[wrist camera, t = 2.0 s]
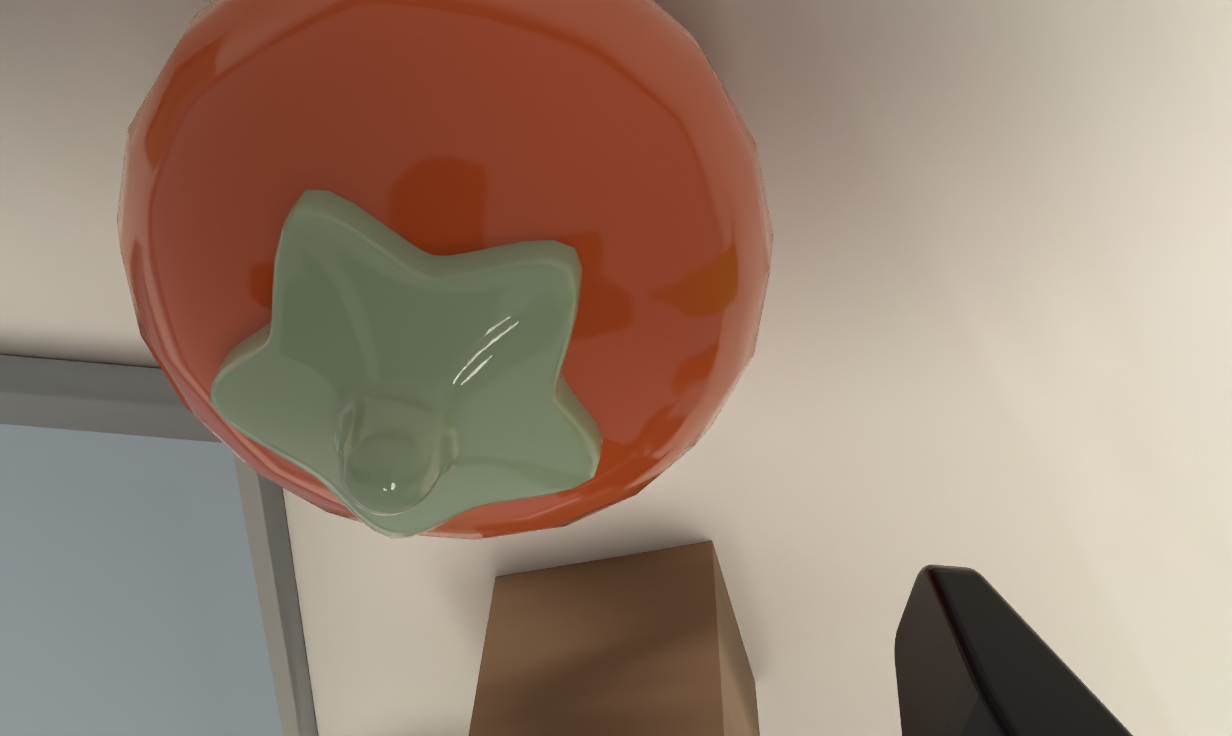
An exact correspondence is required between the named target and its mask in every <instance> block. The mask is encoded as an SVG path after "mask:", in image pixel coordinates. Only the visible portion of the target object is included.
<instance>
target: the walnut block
mask: <svg viewBox="0 0 1232 736" xmlns="http://www.w3.org/2000/svg"><path fill="white" fill-rule="evenodd" d="M469 736H760V732H759V722H758V711H757V701H756V690H755V682H754V678H753V675H752V672H751V668H750V665H749V662H748V658H747V655H746V652H745V648H744V645H743V642H742V638H741V635H740V632H739V628H738V625H737V622H736V618H735V615H734V612H733V608H732V605H731V602H730V598H729V595H728V592H727V588H726V585H725V582H724V578H723V575H722V572H721V568H720V565H719V562H718V559H717V555H716V552H715V549H714V545H713V542H712V541H709V542H703V543H697V544H691V545H685V546H679V547H673V548H667V549H661V550H655V551H649V552H643V553H637V554H631V555H625V556H619V557H613V558H607V559H601V560H595V561H589V562H583V563H577V564H571V565H565V566H559V567H553V568H547V569H541V570H535V571H529V572H523V573H517V574H511V575H505V576H499V577H496V578H495V584H494V590H493V596H492V602H491V608H490V613H489V619H488V625H487V631H486V637H485V643H484V649H483V655H482V660H481V666H480V672H479V678H478V684H477V690H476V696H475V701H474V707H473V713H472V719H471V725H470V731H469Z"/></svg>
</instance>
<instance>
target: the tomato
mask: <svg viewBox="0 0 1232 736" xmlns="http://www.w3.org/2000/svg"><path fill="white" fill-rule="evenodd" d="M117 224H118V232H119V240H120V248H121V255H122V259H123V263H124V267H125V271H126V275H127V280H128V284H129V288H130V292H131V296H132V300H133V305H134V309H135V313H136V317H137V321H138V325H139V329H140V334H141V336H142V338H143V340H144V341H145V343H146V344H147V346H148V347H149V349H150V351H151V352H152V354H153V355H154V357H155V359H156V360H157V362H158V363H159V365H160V367H161V368H162V370H163V371H164V373H165V375H166V376H167V378H168V379H169V381H170V383H171V384H172V386H173V387H174V389H175V391H176V392H177V394H178V395H179V397H180V399H181V400H182V402H183V403H184V405H185V407H186V408H187V409H188V410H189V411H190V412H191V413H192V414H193V415H194V416H196V417H197V418H198V419H199V420H200V421H201V422H202V423H203V424H204V425H205V426H206V427H207V428H208V429H209V430H211V431H212V432H213V433H214V434H215V435H216V436H217V437H218V438H219V439H220V440H221V441H222V442H223V443H224V444H226V445H227V446H228V447H229V448H230V449H231V450H232V451H233V452H234V453H235V454H236V455H237V456H238V457H239V458H240V459H242V460H243V461H244V462H245V463H246V464H247V465H248V466H249V467H251V468H252V469H253V470H254V471H256V472H257V473H258V474H260V475H262V476H264V477H265V478H267V479H269V480H271V481H272V482H274V483H276V484H278V485H280V486H281V487H283V488H285V489H287V490H289V491H290V492H292V493H294V494H296V495H298V496H299V497H301V498H303V499H305V500H307V501H308V502H310V503H312V504H314V505H316V506H317V507H319V508H321V509H323V510H324V511H326V512H329V513H332V514H336V515H339V516H342V517H345V518H349V519H352V520H355V521H359V522H362V523H364V524H366V525H367V526H368V527H369V528H371V529H372V530H373V531H375V532H378V533H380V534H382V535H385V536H387V537H390V538H409V537H412V536H415V535H420V536H434V537H448V538H462V539H484V538H491V537H498V536H504V535H511V534H517V533H524V532H530V531H537V530H543V529H549V528H556V527H562V526H566V525H569V524H571V523H573V522H575V521H578V520H580V519H582V518H584V517H587V516H589V515H591V514H594V513H596V512H598V511H600V510H603V509H605V508H607V507H609V506H612V505H614V504H616V503H619V502H621V501H623V500H625V499H628V498H630V497H632V496H634V495H636V494H637V493H639V492H640V491H641V490H642V489H643V488H645V487H646V486H647V485H648V484H649V483H651V482H652V481H653V480H654V479H655V478H656V477H658V476H659V475H660V474H661V473H662V472H664V471H665V470H666V469H667V468H668V467H670V466H671V465H672V464H673V463H674V462H675V461H677V460H678V459H679V458H680V457H681V456H683V455H684V454H685V453H686V452H687V451H689V450H690V449H691V448H692V447H693V446H694V445H695V444H696V443H697V442H698V441H699V439H700V438H701V437H702V436H703V435H704V434H705V433H706V431H707V430H708V429H709V428H710V427H711V426H712V424H713V423H714V421H715V419H716V418H717V416H718V414H719V413H720V411H721V409H722V408H723V406H724V404H725V403H726V401H727V399H728V397H729V396H730V394H731V392H732V391H733V389H734V387H735V386H736V384H737V382H738V380H739V379H740V377H741V375H742V374H743V372H744V370H745V369H746V367H747V365H748V364H749V362H750V360H751V358H752V357H753V355H754V352H755V346H756V341H757V336H758V330H759V325H760V320H761V314H762V309H763V304H764V298H765V293H766V288H767V282H768V277H769V271H770V262H771V251H772V240H773V233H772V228H771V222H770V217H769V211H768V206H767V200H766V195H765V190H764V184H763V179H762V173H761V168H760V163H759V157H758V152H757V146H756V143H755V141H754V139H753V137H752V136H751V134H750V132H749V130H748V129H747V127H746V125H745V123H744V122H743V120H742V118H741V116H740V115H739V113H738V111H737V109H736V108H735V106H734V104H733V102H732V101H731V99H730V97H729V95H728V94H727V92H726V90H725V88H724V87H723V85H722V83H721V81H720V80H719V78H718V76H717V74H716V73H715V71H714V69H713V67H712V66H711V64H710V62H709V60H708V59H707V57H706V55H705V53H704V52H703V50H702V49H701V47H700V46H699V44H698V43H697V41H696V40H695V38H694V37H693V35H692V34H691V33H690V32H689V31H688V30H687V29H686V28H684V27H683V26H682V25H681V24H680V23H679V22H678V21H676V20H675V19H674V18H673V17H672V16H671V15H670V14H668V13H667V12H666V11H665V10H664V9H663V8H662V7H660V6H659V5H658V4H657V3H656V2H655V1H654V0H214V1H213V2H211V3H210V4H209V5H207V6H206V7H205V8H203V9H202V10H201V11H199V12H198V13H197V14H196V16H195V18H194V19H193V21H192V22H191V24H190V26H189V27H188V29H187V30H186V32H185V34H184V35H183V37H182V38H181V40H180V41H179V43H178V45H177V46H176V48H175V50H174V51H173V53H172V55H171V56H170V58H169V60H168V62H167V63H166V65H165V67H164V68H163V70H162V72H161V73H160V75H159V77H158V78H157V80H156V82H155V84H154V85H153V87H152V89H151V90H150V92H149V94H148V95H147V97H146V99H145V100H144V102H143V104H142V106H141V107H140V109H139V111H138V112H137V114H136V116H135V117H134V119H133V121H132V123H131V124H130V126H129V128H128V132H127V141H126V149H125V157H124V166H123V174H122V182H121V191H120V199H119V207H118V215H117Z"/></svg>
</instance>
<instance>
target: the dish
mask: <svg viewBox="0 0 1232 736" xmlns="http://www.w3.org/2000/svg"><path fill="white" fill-rule="evenodd" d="M0 736H318V734H317V727H316V720H315V713H314V706H313V699H312V692H311V685H310V679H309V672H308V665H307V658H306V651H305V644H304V637H303V630H302V623H301V617H300V610H299V603H298V596H297V589H296V582H295V575H294V568H293V561H292V555H291V548H290V541H289V534H288V527H287V520H286V513H285V506H284V499H283V492H282V487H281V486H280V485H278V484H276V483H274V482H272V481H271V480H269V479H267V478H265V477H264V476H262V475H260V474H258V473H257V472H256V471H254V470H253V469H252V468H251V467H249V466H248V465H247V464H246V463H245V462H244V461H243V460H242V459H240V458H239V457H238V456H237V455H236V454H235V453H234V452H233V451H232V450H231V449H230V448H229V447H228V446H227V445H226V444H224V443H223V442H222V441H221V440H220V439H219V438H218V437H217V436H216V435H215V434H214V433H213V432H212V431H211V430H209V429H208V428H207V427H206V426H205V425H204V424H203V423H202V422H201V421H200V420H199V419H198V418H197V417H196V416H194V415H193V414H192V413H191V412H190V411H189V410H188V409H187V408H186V407H185V405H184V403H183V402H182V400H181V399H180V397H179V395H178V394H177V392H176V391H175V389H174V387H173V386H172V384H171V383H170V381H169V379H168V378H167V376H166V375H165V373H164V371H163V370H162V369H159V368H147V367H135V366H124V365H112V364H101V363H89V362H78V361H66V360H55V359H43V358H32V357H20V356H9V355H0Z"/></svg>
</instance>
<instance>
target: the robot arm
mask: <svg viewBox="0 0 1232 736" xmlns="http://www.w3.org/2000/svg"><path fill="white" fill-rule="evenodd" d="M895 667H896V677H897V687H898V697H899V707H900V718H901V728H902V736H1133V735H1132V734H1131V733H1130V732H1129V731H1128V730H1127V729H1126V728H1125V727H1124V726H1123V724H1122V723H1121V722H1120V721H1119V720H1118V719H1117V718H1116V717H1115V716H1114V715H1113V714H1112V713H1111V712H1110V711H1109V710H1108V709H1107V708H1106V706H1105V705H1104V704H1103V703H1102V702H1101V701H1100V700H1099V699H1098V698H1097V697H1096V696H1095V695H1094V694H1093V693H1092V692H1091V691H1090V689H1089V688H1088V687H1087V686H1086V685H1085V684H1084V683H1083V682H1082V681H1081V680H1080V679H1079V678H1078V677H1077V676H1076V675H1075V674H1074V673H1073V671H1072V670H1071V669H1070V668H1069V667H1068V666H1067V665H1066V664H1065V663H1064V662H1063V661H1062V660H1061V659H1060V658H1059V657H1058V656H1057V654H1056V653H1055V652H1054V651H1053V650H1052V649H1051V648H1050V647H1049V646H1048V645H1047V644H1046V643H1045V642H1044V641H1043V640H1042V639H1041V638H1040V636H1039V635H1038V634H1037V633H1036V632H1035V631H1034V630H1033V629H1032V628H1031V627H1030V626H1029V625H1028V624H1027V623H1026V622H1025V621H1024V619H1023V618H1022V617H1021V616H1020V615H1019V614H1018V613H1017V612H1016V611H1015V610H1014V609H1013V608H1012V607H1011V606H1010V605H1009V604H1008V603H1007V601H1006V600H1005V599H1004V598H1003V597H1002V596H1001V595H1000V594H999V593H998V592H997V591H996V590H995V589H994V588H993V587H992V586H991V584H990V583H989V582H988V581H987V580H986V579H985V578H984V577H983V576H982V575H981V574H980V573H978V572H977V571H975V570H973V569H971V568H966V567H954V566H943V565H928V566H925V567H923V568H922V569H921V571H920V572H919V574H918V575H917V577H916V580H915V583H914V585H913V588H912V591H911V594H910V596H909V599H908V602H907V604H906V607H905V610H904V613H903V615H902V618H901V621H900V623H899V626H898V629H897V633H896V638H895Z"/></svg>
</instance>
